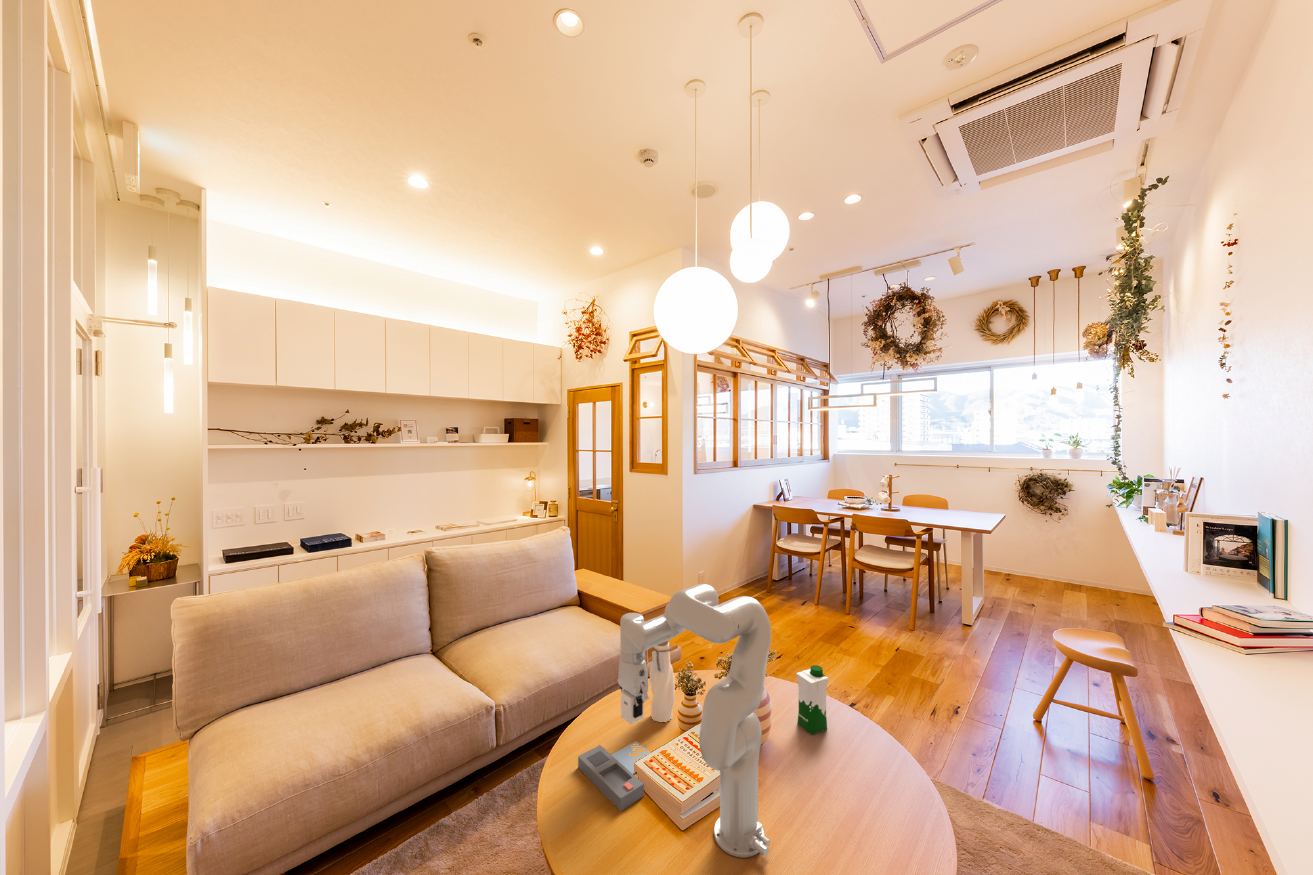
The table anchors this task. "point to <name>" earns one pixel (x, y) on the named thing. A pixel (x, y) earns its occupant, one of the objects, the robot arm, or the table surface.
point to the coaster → (629, 760)
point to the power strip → (611, 777)
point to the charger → (628, 707)
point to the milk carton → (812, 699)
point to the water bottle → (662, 683)
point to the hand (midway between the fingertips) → (632, 711)
